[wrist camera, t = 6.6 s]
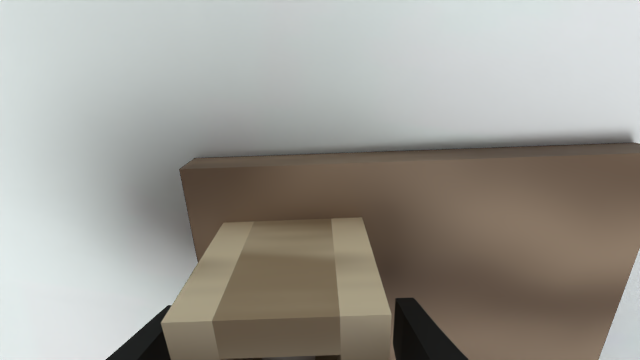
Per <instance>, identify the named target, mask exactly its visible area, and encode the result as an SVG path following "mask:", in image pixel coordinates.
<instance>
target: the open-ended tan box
mask: <svg viewBox="0 0 640 360" xmlns="http://www.w3.org/2000/svg"><path fill="white" fill-rule="evenodd" d="M391 316H392V314H391V311H390V308H389V304H388V301H387V298H386V295H385V291H384V288H383V285H382V281H381V278H380V275H379V272H378V268H377V265H376V262H375V258H374V255H373V252H372V248H371V245H370V242H369V239H368V235H367V232H366V229H365V225H364V222H363V219H362V217H359V218H333V219H306V220H280V221H254V222H228V223H223V224H222V226H221V227H220V229H219V231H218V232H217V234H216V235H215V237H214V239H213V240H212V242H211V243H210V245H209V247H208V248H207V250H206V251H205V253H204V255H203V256H202V258H201V259H200V261H199V263H198V264H197V266H196V267H195V269H194V271H193V272H192V274H191V275H190V277H189V279H188V280H187V282H186V283H185V285H184V287H183V288H182V290H181V291H180V293H179V295H178V296H177V298H176V299H175V301H174V303H173V304H172V306H171V307H170V309H169V311H168V312H167V314H166V315H165V317H164V319H163V320H162V322H161V325H162V329H163V333H164V336H165V340H166V344H167V347H168V351H169V354H170V358H171V360H262V358H264V357H293V356H315V360H389V355H390V335H391Z"/></svg>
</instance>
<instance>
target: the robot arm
mask: <svg viewBox="0 0 640 360" xmlns="http://www.w3.org/2000/svg"><path fill="white" fill-rule="evenodd" d="M171 306H172V305H168V306H167V307H166V308H165V309H163V310H162V311H161V312H160V313H159V314H157V315H156V316H155V317H154V318H153V319H152V320H151V321H149V322H148V323H147V324H146V325H145V326H144V327H143V328H142V329H140V330H139V331H138V332H137V333H136V334H135V335H134V336H133V337H131V338H130V339H129V340H128V341H127V342H126V343H124V344H123V345H122V346H121V347H120V348H119V349H118V350H116V351H115V352H114V353H113V354H112V355H111V356H109V357H108V358H107V359H106V360H171V358H170V354H169V351H168V347H167V344H166V340H165V336H164V333H163V329H162V325H161V322H162V320H163V319H164V317H165V315H166V314H167V312H168V311H169V309H170V307H171ZM393 348H394V353H395V357H396V360H469V359H468V358H467V357H466V356H465V355H464V354H463V353H462V352H461V351H460V350H459V349H458V348H457V347H456V346H455V344H454V343H453V342H452V341H451V340H450V339H449V338H448V337H447V336H446V335H445V334H444V332H443V331H442V330H441V329H440V328H439V327H438V326H437V324H436V323H435V322H434V321H433V320H432V319H431V317H430V316H429V315H428V314H427V313H426V311H425V310H424V309H423V308H422V307H421V305H420V304H419V303H418V302H417V300H416V299H414V298H413V297H412V298H395V314H394V331H393Z"/></svg>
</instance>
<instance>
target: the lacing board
mask: <svg viewBox="0 0 640 360" xmlns="http://www.w3.org/2000/svg"><path fill="white" fill-rule="evenodd" d="M179 171H180V176H181V181H182V186H183V191H184V196H185V201H186V206H187V211H188V216H189V221H190V226H191V231H192V236H193V241H194V246H195V251H196V256H197V261H198V263H199V261H200V259H201V258H202V256H203V255H204V253H205V251H206V250H207V248H208V247H209V245H210V243H211V242H212V240H213V239H214V237H215V235H216V234H217V232H218V231H219V229H220V227H221V226H222V224H223V223H228V222H254V221H280V220H306V219H333V218H359V217H362V219H363V222H364V225H365V229H366V232H367V235H368V239H369V242H370V245H371V248H372V252H373V255H374V258H375V262H376V265H377V268H378V272H379V275H380V278H381V281H382V285H383V288H384V291H385V295H386V298H387V301H388V304H389V308H390V311H391V314H392V316H391V335H390V355H389V360H396V357H395V353H394V348H393V331H394V314H395V298H412V297H413V298H414V299H416V300H417V302H418V303H419V304H420V305H421V307H422V308H423V309H424V310H425V311H426V313H427V314H428V315H429V316H430V317H431V319H432V320H433V321H434V322H435V323H436V324H437V326H438V327H439V328H440V329H441V330H442V331H443V332H444V334H445V335H446V336H447V337H448V338H449V339H450V340H451V341H452V342H453V343H454V344H455V346H456V347H457V348H458V349H459V350H460V351H461V352H462V353H463V354H464V355H465V356H466V357H467V358H468V359H469V360H598V359H599V356H600V354H601V351H602V348H603V346H604V343H605V340H606V337H607V335H608V332H609V329H610V327H611V324H612V321H613V319H614V316H615V313H616V310H617V308H618V305H619V302H620V300H621V297H622V294H623V292H624V289H625V286H626V283H627V281H628V278H629V275H630V273H631V270H632V267H633V265H634V262H635V259H636V256H637V254H638V251H639V248H640V144H638V143H612V144H584V145H555V146H527V147H499V148H470V149H442V150H413V151H385V152H357V153H328V154H300V155H271V156H243V157H215V158H194V159H193V160H192V161H190V162H189V163H187V164H186V165H185V166H183V167H182V168H180V169H179ZM262 360H315V356H293V357H264V358H262Z"/></svg>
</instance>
